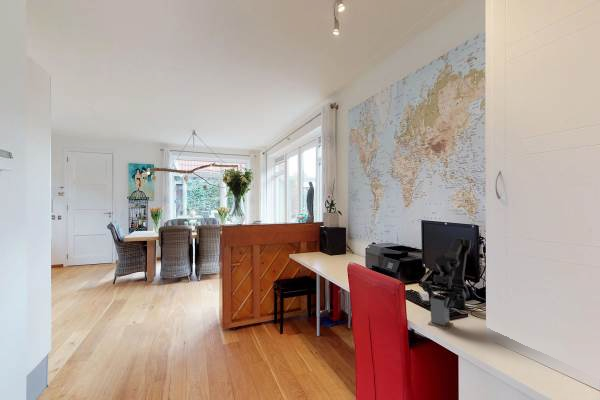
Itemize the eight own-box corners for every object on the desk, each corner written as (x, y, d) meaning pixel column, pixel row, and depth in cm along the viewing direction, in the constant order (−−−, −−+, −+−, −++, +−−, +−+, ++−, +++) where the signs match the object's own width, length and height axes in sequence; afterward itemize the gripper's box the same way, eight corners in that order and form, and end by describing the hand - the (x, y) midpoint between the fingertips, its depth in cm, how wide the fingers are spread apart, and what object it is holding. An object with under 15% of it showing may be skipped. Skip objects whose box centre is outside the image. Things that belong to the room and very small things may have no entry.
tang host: (434, 320, 130) (433, 311, 130) (453, 325, 124) (452, 316, 124) (427, 325, 124) (427, 316, 124) (447, 331, 118) (447, 322, 118)
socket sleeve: (435, 318, 128) (434, 294, 128) (449, 322, 124) (448, 297, 124) (431, 322, 124) (430, 297, 124) (445, 327, 120) (444, 301, 119)
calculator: (422, 299, 147) (417, 290, 161) (422, 307, 147) (417, 297, 161) (444, 301, 144) (437, 291, 159) (444, 308, 144) (437, 298, 159)
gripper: (421, 265, 134) (413, 292, 126) (463, 271, 120) (456, 301, 113) (428, 277, 139) (420, 304, 131) (468, 284, 126) (462, 314, 118)
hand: (438, 305), depth 123 cm, fingers open, 7 cm apart
